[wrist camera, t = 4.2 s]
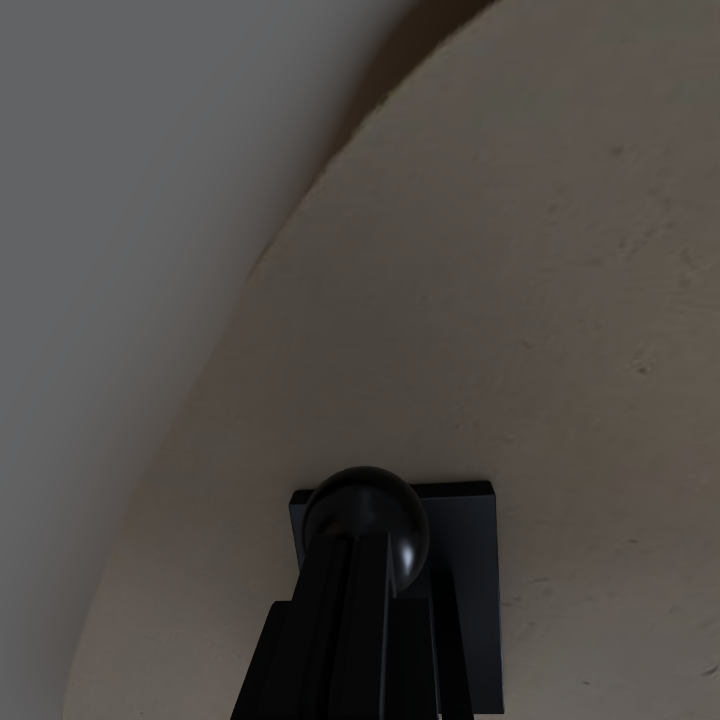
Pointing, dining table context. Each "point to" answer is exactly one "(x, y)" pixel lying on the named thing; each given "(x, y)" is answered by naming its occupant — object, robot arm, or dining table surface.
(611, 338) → the dining table surface
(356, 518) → the switch lever
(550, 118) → the dining table surface
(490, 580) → the switch bracket
